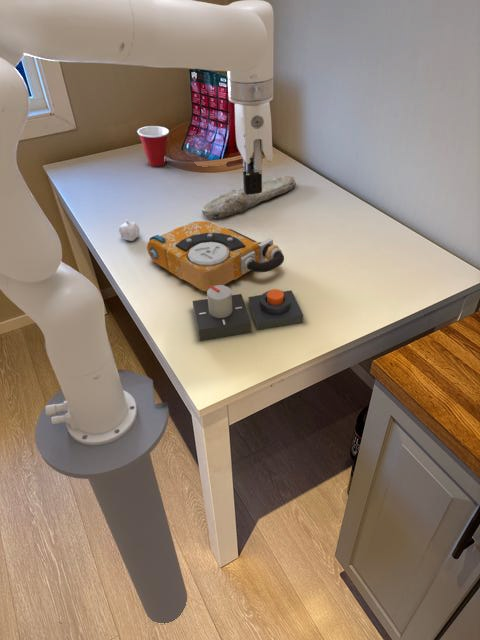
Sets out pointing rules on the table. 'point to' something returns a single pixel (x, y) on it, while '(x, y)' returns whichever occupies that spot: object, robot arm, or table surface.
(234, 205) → the elongated rock
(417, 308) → the table surface
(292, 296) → the button block
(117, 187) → the table surface
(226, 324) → the timer panel
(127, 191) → the table surface
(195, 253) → the device
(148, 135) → the plastic cup
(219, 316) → the timer dial
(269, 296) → the power button
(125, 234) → the garlic
